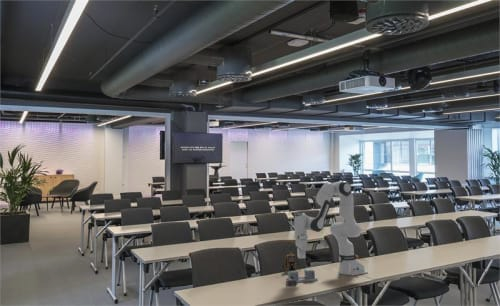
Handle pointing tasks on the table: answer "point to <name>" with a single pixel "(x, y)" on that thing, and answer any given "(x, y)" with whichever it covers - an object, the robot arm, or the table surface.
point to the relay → (291, 282)
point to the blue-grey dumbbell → (308, 277)
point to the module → (300, 253)
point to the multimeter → (291, 261)
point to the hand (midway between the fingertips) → (301, 254)
